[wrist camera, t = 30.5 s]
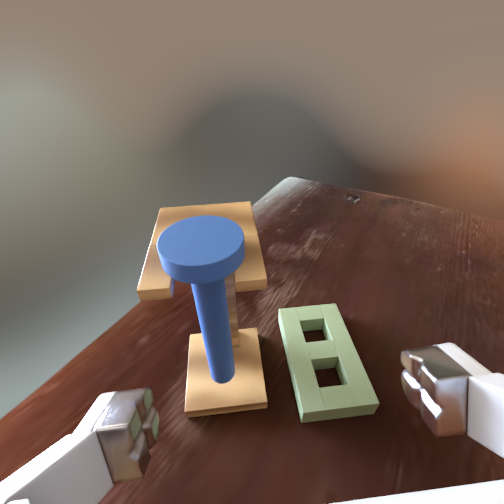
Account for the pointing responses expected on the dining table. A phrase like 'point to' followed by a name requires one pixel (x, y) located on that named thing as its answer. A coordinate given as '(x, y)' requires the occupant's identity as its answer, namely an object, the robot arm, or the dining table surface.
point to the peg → (206, 278)
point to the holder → (324, 365)
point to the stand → (243, 340)
